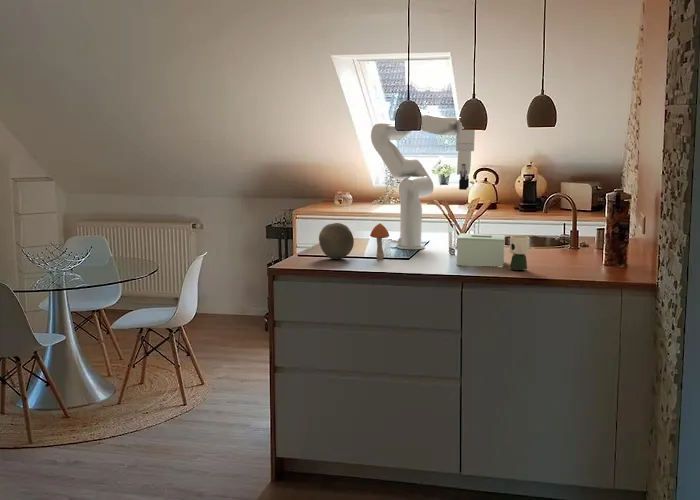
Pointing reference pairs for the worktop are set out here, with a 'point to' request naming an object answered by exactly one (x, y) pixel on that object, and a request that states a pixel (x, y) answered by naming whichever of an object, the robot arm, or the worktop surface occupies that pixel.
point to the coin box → (480, 250)
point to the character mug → (519, 252)
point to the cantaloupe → (336, 240)
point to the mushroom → (379, 238)
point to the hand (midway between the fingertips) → (463, 188)
